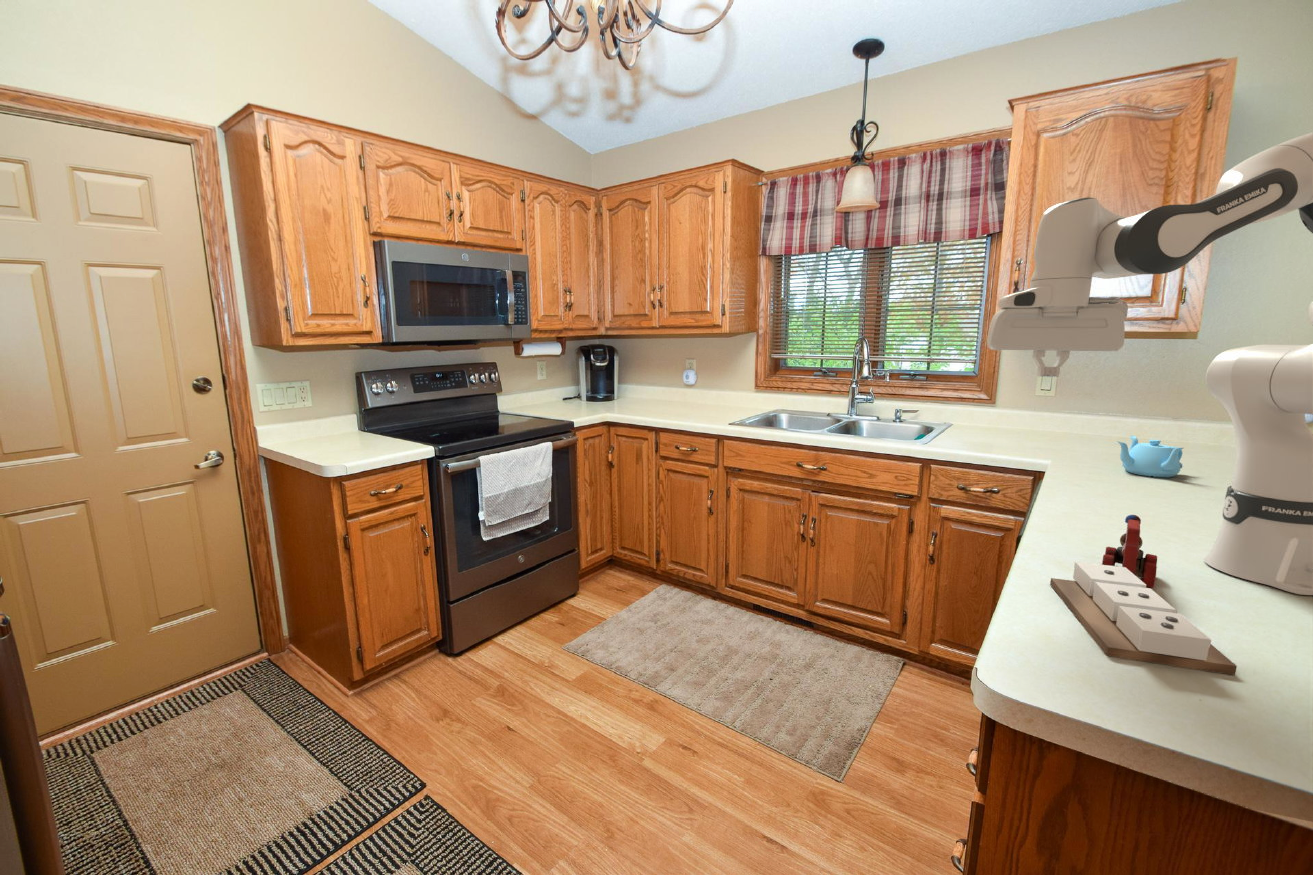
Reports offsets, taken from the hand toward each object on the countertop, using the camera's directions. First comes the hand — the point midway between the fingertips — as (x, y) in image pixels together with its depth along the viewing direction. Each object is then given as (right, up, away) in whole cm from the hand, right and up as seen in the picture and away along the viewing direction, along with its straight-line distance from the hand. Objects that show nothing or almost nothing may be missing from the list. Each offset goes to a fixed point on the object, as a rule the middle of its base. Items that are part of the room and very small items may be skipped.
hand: (1047, 376), depth 102 cm
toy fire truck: (+10, -35, -5) cm, 37 cm away
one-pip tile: (0, -35, -14) cm, 37 cm away
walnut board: (-3, -38, -21) cm, 43 cm away
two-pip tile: (-3, -36, -21) cm, 42 cm away
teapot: (+76, -22, +67) cm, 103 cm away
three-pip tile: (-6, -37, -29) cm, 47 cm away
